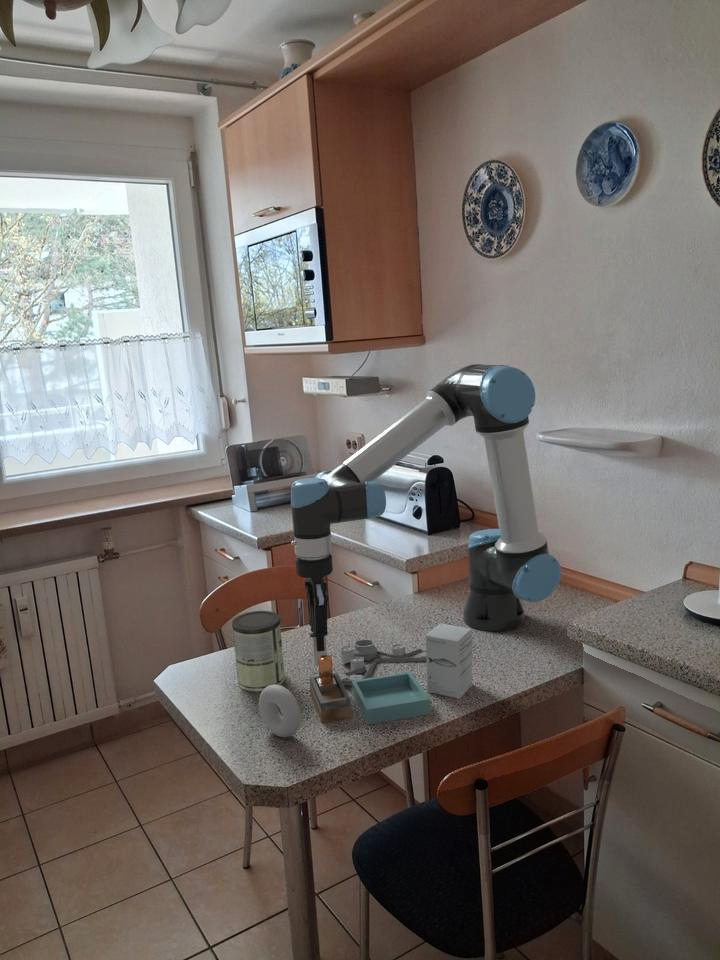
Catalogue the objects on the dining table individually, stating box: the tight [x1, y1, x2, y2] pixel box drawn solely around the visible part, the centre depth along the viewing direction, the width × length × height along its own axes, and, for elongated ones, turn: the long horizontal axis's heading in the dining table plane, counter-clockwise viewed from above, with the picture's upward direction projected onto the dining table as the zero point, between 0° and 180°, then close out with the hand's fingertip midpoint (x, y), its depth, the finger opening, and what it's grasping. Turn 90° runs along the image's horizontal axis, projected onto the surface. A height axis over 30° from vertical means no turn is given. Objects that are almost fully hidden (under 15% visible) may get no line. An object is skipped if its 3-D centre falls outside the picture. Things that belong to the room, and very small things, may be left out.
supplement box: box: [425, 622, 473, 700], centre depth 158 cm, size 7×7×13 cm
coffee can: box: [231, 610, 286, 693], centre depth 165 cm, size 10×10×14 cm
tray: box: [351, 671, 431, 726], centre depth 153 cm, size 13×13×3 cm
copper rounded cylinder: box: [316, 654, 337, 693], centre depth 156 cm, size 4×4×6 cm
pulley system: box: [338, 638, 427, 686], centre depth 173 cm, size 27×5×15 cm
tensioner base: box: [309, 672, 353, 724], centre depth 154 cm, size 6×12×4 cm, turn 14°
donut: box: [258, 684, 302, 738], centre depth 143 cm, size 10×4×10 cm, turn 48°
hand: (320, 662), depth 161 cm, fingers closed
